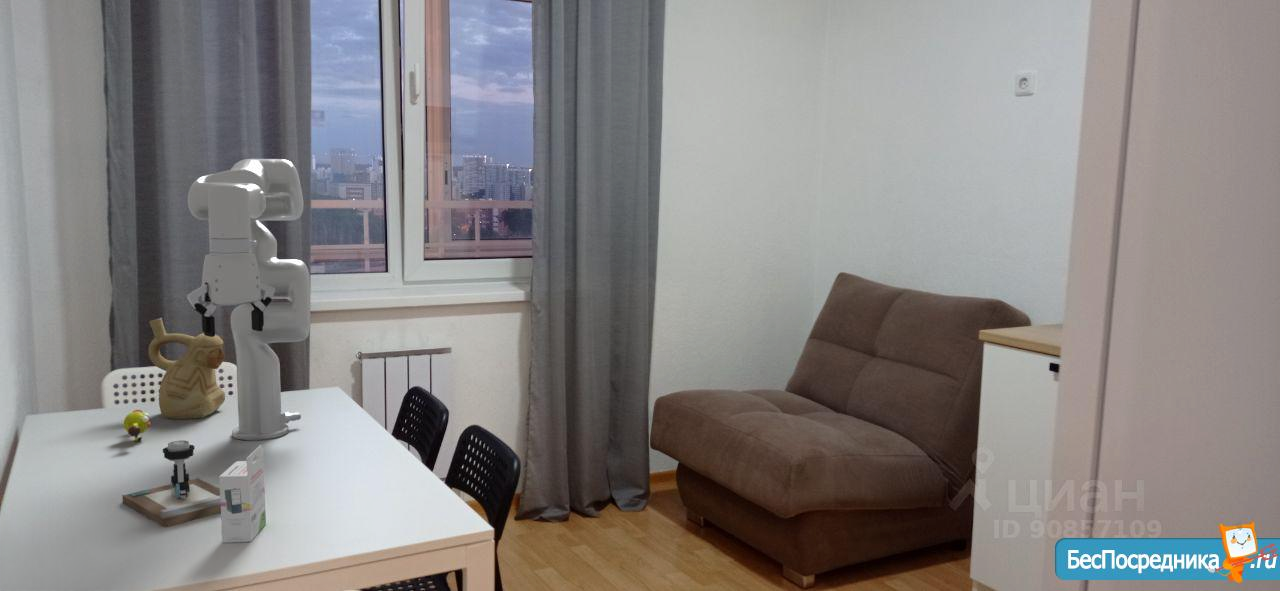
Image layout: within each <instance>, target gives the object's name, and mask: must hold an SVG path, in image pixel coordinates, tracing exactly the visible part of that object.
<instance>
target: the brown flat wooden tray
mask: <svg viewBox="0 0 1280 591" xmlns="http://www.w3.org/2000/svg"><path fill="white" fill-rule="evenodd" d="M188 483H189V486H190V493H189V492H187V497H186V498H182V499H181V498H179V499H177V497H176V494H175V492H174V489H172V490H171V487H173V485H172V483H170V484H166V485H162V486H157V487H152V488H148V489H145V490H138V491H135V492H129V493H126V494H122V504H124V505H125V506H127V507H129V508H130V509H132V510H134V511H136V512H137V513H139V514H141V515H143V516H144V517H146V518H147V519H149V520H151V521H152V522H154V523H156V524H158V525H160V526H161V527H163V528H166V527H170V526H174V525H178V524H181V523H185V522H189V521H193V520H196V519H199V518H204V517H207V516H208V517H209V516H212V515H215V514H219V513H220V514H221V502H220V487H217V486H215V485H213V484H211V483H209V482H206V481H204V480H203V479H200V478H199V477H198V478H197V477H196V478H193V479H189V481H188ZM172 491H173V496H172Z"/></svg>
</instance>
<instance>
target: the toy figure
mask: <svg viewBox="0 0 1280 591" xmlns="http://www.w3.org/2000/svg"><path fill="white" fill-rule="evenodd" d="M149 416H150V415H149V413H147V412H143V411H142V410H141V409H135V410H133V411H132V412H130V413H128V414H127V415H126V416H125V417H124V420H123V428H124V430H125V431H126V432H127V434H129V436H131V437H134V442H140V441H142V439H143V437H142V436H140V434H142V433H144V432H145V431H146V430H148V429H149V428H151V425H152V424H151V422H150V419H149ZM139 436H140V437H139Z"/></svg>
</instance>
